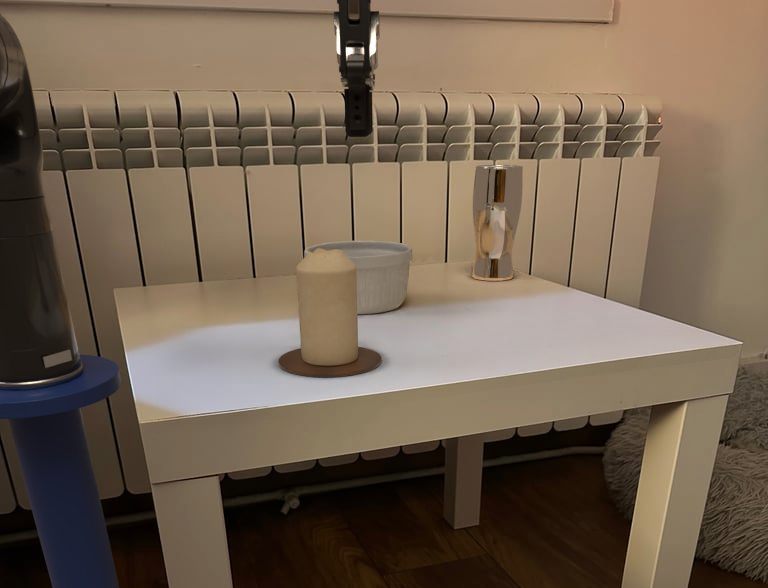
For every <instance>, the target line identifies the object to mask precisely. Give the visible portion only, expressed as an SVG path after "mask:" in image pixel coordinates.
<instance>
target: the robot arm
mask: <svg viewBox="0 0 768 588" xmlns="http://www.w3.org/2000/svg"><path fill="white" fill-rule="evenodd" d="M371 3H372V0H336V4H337V5H338V11H333V28H334V30H333V31H334V35H335V37H336V39H335V40H336V42H335V43H336V44H335V45H336V46H335V47H336V49H335V51H336V60H337V61H336V62H337V64H338V73H340V82H341V83H342V87H343V96H344V99H343V100H344V126H345V127H344V128H345V129H344V130H345V134H346V136H347V137H349V138H366V137H369V136H370V135H371V134H372V133H373V132H374V131H373V130H374V126H373V125H374V124H373V121H374V119H373V118H374V117H373V115H374V113H373V92H374V88H375V85H376V83H375V80H376V74H375V73H374V71H376V70H377V69H378V67H379V64H378V63H379V55H378V54H379V53H378V52H379V51H378V45H379V44H378V40H379V39H380V36H381V18H380V17H381V16H380V11H379V10H371V9H372V8H371ZM31 80H32V79H31V76H30V71H29V67H28V62H27V59H26V54H25V52H24V49H23V47H22V43H21V41H20V39H19V37H18V35H17V33H16V31H15V29H14V28H13V27H12V25H11V24H10V22H9V21H8V20H7V18H6V17H5V16H4V15H2V13H0V390H32V389H40V388H46V387H51V386H55V385H60V384H63V383H66V382H69V381H71V380H74V379H76V378H77V377H79V376H80V375H82V373H83V371H84V370H83V366H82V362H81V361H80V354H81V353H80V349H79V346H78V342H77V337H76V331H75V327H74V323H73V318H72V313H71V308H70V303H69V299H68V293H67V289H66V283H65V280H64V276H63V275H64V274H63V270H62V265H61V261H60V255H59V251H58V246H57V242H56V241H57V240H56V237H55V232H54V227H53V222H52V218H51V217H52V216H51V214H50V209H49V204H48V199H47V196H46V194H47V193H46V189H45V184H44V175H43V173H44V149H43V143H42V136H41V130H40V124H39V118H38V111H37V107H36V102H35V96H34V91H33V85H32V81H31Z"/></svg>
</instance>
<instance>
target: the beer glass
mask: <svg viewBox="0 0 768 588" xmlns="http://www.w3.org/2000/svg"><path fill="white" fill-rule="evenodd" d="M523 171H524V166H523V165H516V164H515V165H514V164H482V165H476V166H475V174H474V179H473V190H472V220H473V229H474V238H475V259H474V263H473V268H472V272H471V277H472V279H475V280H479V281H487V282H503V281H508V280H511V279H513V278H514V268H513V267H514V266H513V247H514V242H515V238H516V233H517V229H518V225H519V221H520V217H521V211H522V203H523V191H524V187H523V186H524V185H523V184H524V183H523V180H524V179H523V177H524V176H523V173H524V172H523Z"/></svg>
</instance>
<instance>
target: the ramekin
mask: <svg viewBox="0 0 768 588" xmlns="http://www.w3.org/2000/svg"><path fill="white" fill-rule="evenodd" d="M318 248H321V249H324V250H326V251H330V250H333V249H338V250H343V252H344V253H345V254H346V255H347V256H348V258H349V259H350V260H351V261H352V262H353V263H354V264H355V266H356V278H357V315H372V314H380V313H385V312H390V311H393V310H396V309H398V308H400V306H401V305H402V303H403V302H404V301H405V299H406V297H407V291H408V285H409V276H410V264H411V262H412V260H413V248H412V246H410V245H409V244H406V243H401V242H397V241H388V240H387V241H386V240H343V241H331V242H324V243H318V244H314V245H311V246H308V247H306V248H305V249H304V252H303V254H304V257H305V256H306V255H307V254H308V252H309V251H310V252H312V253H313V252H314V251H315V250H316V249H318ZM304 257H303V258H304Z"/></svg>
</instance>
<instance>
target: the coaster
mask: <svg viewBox="0 0 768 588" xmlns="http://www.w3.org/2000/svg"><path fill="white" fill-rule="evenodd" d="M382 361H383V360H382V356H381V354H380V353H379V352H378V351H375V350H374V349H371V348H368V347H363V346H358V358H357V359H356V360H355V361H353V362H350V363H347V364H342V365H332V366H323V365H314V364H309V363H307V362H305V361H303V359H302V354H301V347H299V348H296V349H292V350H290V351H287V352H285V353H283V354H281V355H280V356H279V357H278V361H277V363H278V366H279V368H280V369H281V370H283V371H285V372H287V373H290V374H293V375H297V376H303V377H312V378H339V377H348V376H356V375H360V374H363V373H367V372H370V371H373V370H374V369H376V368H378V367H379V366H380V365H381V364H382Z"/></svg>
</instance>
